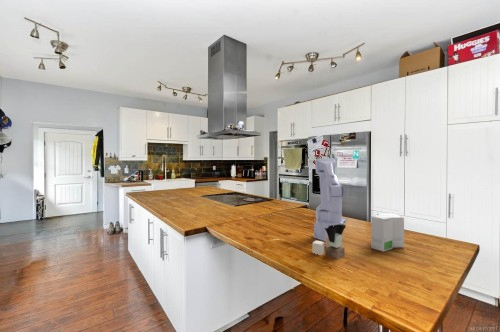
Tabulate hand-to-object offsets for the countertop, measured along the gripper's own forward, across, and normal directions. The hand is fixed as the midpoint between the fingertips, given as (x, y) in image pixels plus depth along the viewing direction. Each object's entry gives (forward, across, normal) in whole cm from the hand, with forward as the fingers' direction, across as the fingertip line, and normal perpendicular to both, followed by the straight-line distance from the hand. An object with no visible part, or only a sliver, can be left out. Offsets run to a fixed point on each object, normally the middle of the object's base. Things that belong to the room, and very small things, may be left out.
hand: (334, 240), depth 104 cm
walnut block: (+7, 0, 0) cm, 7 cm away
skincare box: (+7, +25, -8) cm, 28 cm away
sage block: (+2, 0, 0) cm, 2 cm away
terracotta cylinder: (+7, +6, +7) cm, 11 cm away
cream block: (+7, -4, +6) cm, 10 cm away
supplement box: (+7, +34, -8) cm, 35 cm away
